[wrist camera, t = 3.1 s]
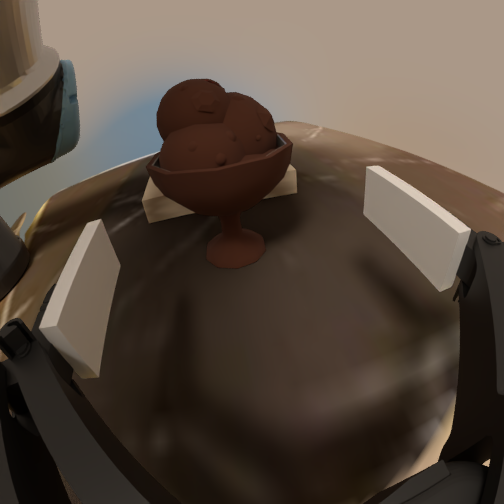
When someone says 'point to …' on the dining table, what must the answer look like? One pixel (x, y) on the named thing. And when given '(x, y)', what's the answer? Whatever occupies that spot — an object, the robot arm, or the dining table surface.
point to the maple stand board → (166, 208)
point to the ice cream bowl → (219, 162)
